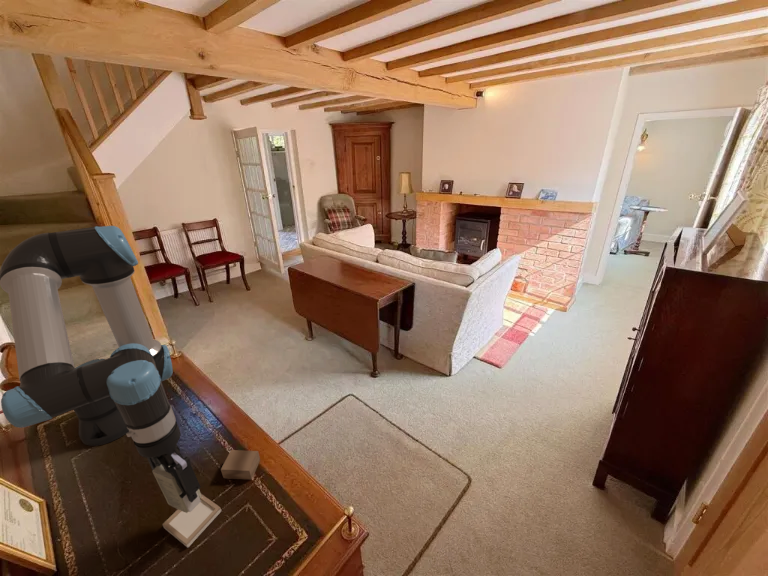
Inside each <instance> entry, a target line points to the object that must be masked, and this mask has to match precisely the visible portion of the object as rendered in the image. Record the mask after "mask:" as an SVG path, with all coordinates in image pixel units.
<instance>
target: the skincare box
mask: <svg viewBox="0 0 768 576" xmlns="http://www.w3.org/2000/svg"><path fill="white" fill-rule="evenodd" d="M168 467H170V466H168ZM151 472H152V474H153V476H154V478H155V479H156V482H157V485H158V486H159V488H160V490H161V492H162V495H163V496H164V498H165V500H166V502H167V504H168V506H170V507H172V508H175V509H176V510H181V511H183V512H185V513H188V512H189V511H188V510H187V508H186V505H185V503H184V501H183V498H181V497H180V496H179V495H181V494H180V493H181V492H182V491H181V490H180V488H179V486H178V485H177V483H176V480H175V478H174V477H173V476H172V475H171V473H168V472H166V471H165V469H164V468H163V466H162V465H160V466H156V467H155V468H154V469H153V470H152V469H151ZM197 493H198V496H199V498H201V496H202V495H203V494H202V493H201V491H200V488H199V489H198V490H197ZM201 494H202V495H201Z"/></svg>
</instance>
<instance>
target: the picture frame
mask: <svg viewBox="0 0 768 576" xmlns="http://www.w3.org/2000/svg"><path fill="white" fill-rule="evenodd" d="M201 495H202V496H201V498H200V501H201V502H200V503H199V504H198V505H197V506H196V507H195V508H194V509H193V510H192V511H191V512H188V513H185V512H183V511H181V510H178V509H176V510H175V512H173V514H172V515H170V516H169V518H168V519H166V520H165V521H164V522H163V523H162V527H163V529H165V531H167V532H168V533H169V534H171V535H172V536H173V537H174V538H175V539H177V540H178V541H179V542H180V543H181V544H183V545H184V546H185V547H186V548H190V546H191V545H192V544H193V543H194V542H195V540H196V539H198V538H199V536H200V535H202V533H203V532H204V531H205V530H206V528H207V527H209V525H210V524H211V523H212V522H213V521H214V520H215V519H216V518H217V517H218V515H219V514H220V513H221V512H222V509H221V507H220V506H219V505H218V504H216V503H215V502H213V501H212V500H211V499H209V498H208V497H206V496H205V495H204V494H202V493H201Z"/></svg>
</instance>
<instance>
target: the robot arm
mask: <svg viewBox="0 0 768 576" xmlns="http://www.w3.org/2000/svg"><path fill="white" fill-rule="evenodd" d="M138 265H139V261H138V258H137V257H136V255H135V253H134V251H133V249H132V247H131V245H130V243H129V241H128V240H127V238H126V235H125V234H124V232H123V230H122V229H121V228H119V226H115V225H103V226H92V227H91V226H90V227H85V228H84V227H83V228H76V229H70V230H69V229H68V230H62V231H55V232H44V233H39V234H35V235H33V236H31V237H28V238H26V239H24V240H22V241H21V242H20V243H18V244H17V245H16V246H14V247H13V249H11V250H10V252H9V253H7V255H6V257H5V258H4V260H3V261H2V263H1V266H0V288H1V289H2V290H3V291H4V292H5V293H6V294H8V300H9V301H8V302H9V308H10V315H11V317H10V318H11V323H12V330H13V339H14V348H15V349H14V350H15V356H16V362H17V371H18V372H17V373H18V379H19V386H15V387H14V388H11V389H8V390H6V391H5V392H4V393H3V394H2V397H1V399H0V406H1V409H2V413H3V415H4V417H5V418H6V420H7V422H8V423H10V424H11V425H13V426H14V427H15V428H27V427H29V426H32V425H36V424H40V423H42V422H46V421H49V420H52V419H53V418H56V417H58V416H60V415H62V414H65V413H68V412H71V411H74V413H75V415H76V417H77V418H78V437H79V439H80V440H81V442H82V443H83V444H84V445H86V446H90V447H91V446H92V447H94V446H95V447H97V446H101V445H106V444H109V443H112V442H113V441H116V440H118V439H119V438H121V437H123V436H126V437H127V438H131V439H132V440H133V444H134V446H135V448H136V450H137V452H138V454H139V455H140V456H141V457H142V458H147V461H148V463H149V466H150V467H151V471H152V470H153V469H154V468H155V467H156V466H160V465H162V466H163V468H164V469H165V471H166V472H168V473H171V475H172V476H173V477H174V478H175V480H176V483H177V485H178V486H179V488H180V490H181V491H182V492H181V493H180V494H181V495H179V496H180V497H181V498H183V501H184V503H185V505H186V508H187V510H188V511H189V512H191V511H192V510H193V509H194V508H195V507H196V506H197V505H198V504H199V503H200V502H201V501H200V498H199V496H198V493H197V490H198V489H199V490H200V489H201V485H200V482H199V480H198V478H197V475H196V473H195V471H194V469H193V466H192V464H191V459H190V457H188V456H185V457H183V455H182V453H181V449H180V447H179V445H178V443H179V441H180V438H181V429H180V428H179V424H178V422H177V420H176V416H175V412H174V410H173V407H172V405H171V404H170V402H169V399H168V397H167V394H166V391H165V390H166V389H165V388H164V385H163V383H162V382H163V381H166V380H168V379H169V378H171V377H172V376H173V363H172V362H173V361H172V358H171V354H170V350H169V347H168V346H167V344H161V342H160V341H159V340H157V339H154V338H153V335H152V332H151V330H150V328H149V324H148V323H147V319H146V317H145V313H144V312H143V308H142V306H141V303H140V299H139V297H138V295H137V292H136V290H135V287H134V284H133V282H132V276H133V275H134V274H135V268H134V267H136V266H138ZM74 277H76V278H77V277H79V278H80V280H81V283H83V284H85V285H88V286H91V288H92V290H93V292H94V294H95V296H96V299H97V301H98V303H99V305H100V308H101V310H102V313H103V315H104V317H105V319H106V321H107V323H108V325H109V329H110V330H111V333H112V334H113V335H112V336H113V338H114V340H115V341H116V344H117V345H118V348H116V349H114V350H113V351H112V353H111V354H110V356H109V357H108V358H96V359H92V360H88V361H86V362H84V363H81V364H79V365H78V366H76V367H75V363H74V358H73V354H72V349H71V345H70V339H69V335H68V331H67V326H66V321H65V316H64V313H63V312H64V311H63V308H62V303H61V299H60V294H59V289H60V288H61V286H62V283H63V280H64V279H70V278H74ZM168 466H170V467H168Z"/></svg>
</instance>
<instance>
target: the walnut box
mask: <svg viewBox="0 0 768 576" xmlns="http://www.w3.org/2000/svg"><path fill="white" fill-rule="evenodd" d="M260 458H261V457H260V453H259V451H258V450H243V449H242V450H241V449H230V452H229V453H228V455H227V457H226V459H225V461H224V462H223V465H222V467H221V468H220V471H221V474H222V478H223V479H229V480H230V479H231V480H233V479H234V480H252V479H253V477H254V475H255V473H256V471H257V468H258V466H259V464H260V462H261V459H260Z"/></svg>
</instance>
